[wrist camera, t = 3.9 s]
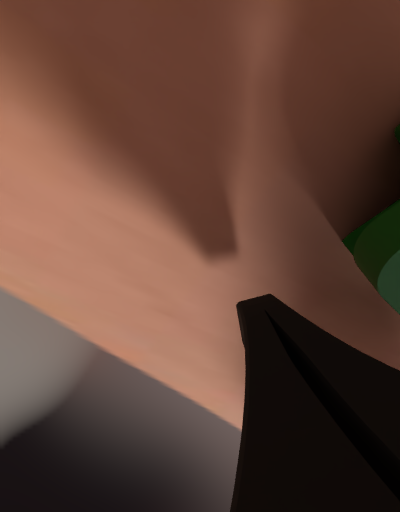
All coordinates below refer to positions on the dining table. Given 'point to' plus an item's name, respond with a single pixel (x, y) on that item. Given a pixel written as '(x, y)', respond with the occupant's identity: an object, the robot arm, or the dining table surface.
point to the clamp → (380, 250)
